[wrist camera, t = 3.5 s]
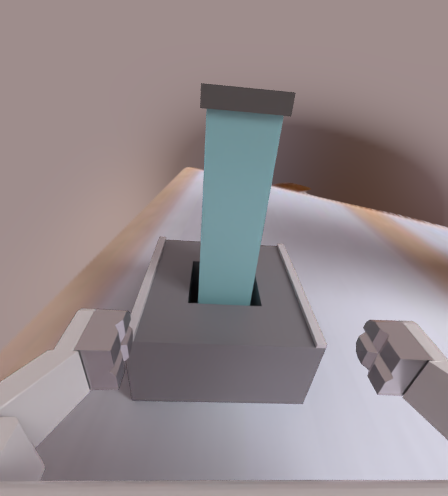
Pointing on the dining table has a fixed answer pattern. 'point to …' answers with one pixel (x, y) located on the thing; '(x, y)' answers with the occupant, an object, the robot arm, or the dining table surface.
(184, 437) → the dining table surface
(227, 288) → the plug
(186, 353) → the grey socket base
